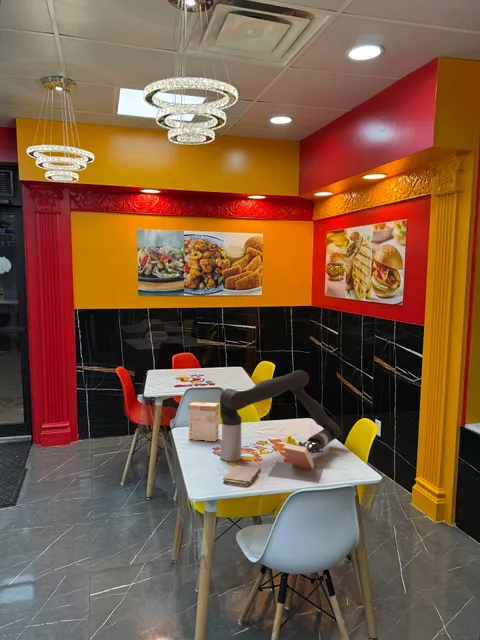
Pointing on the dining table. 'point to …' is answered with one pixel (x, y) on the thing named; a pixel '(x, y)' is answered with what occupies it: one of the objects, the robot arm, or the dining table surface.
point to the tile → (299, 456)
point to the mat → (296, 472)
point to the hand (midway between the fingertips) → (302, 452)
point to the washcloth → (241, 475)
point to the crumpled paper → (290, 440)
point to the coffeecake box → (204, 421)
